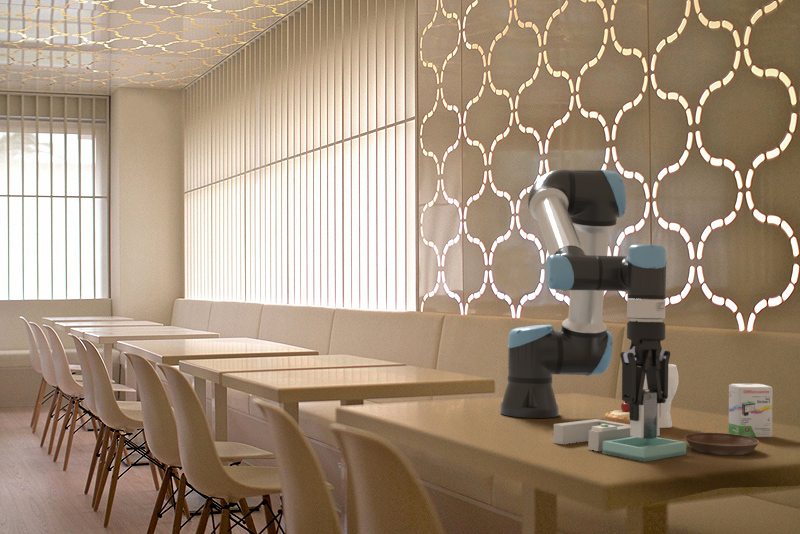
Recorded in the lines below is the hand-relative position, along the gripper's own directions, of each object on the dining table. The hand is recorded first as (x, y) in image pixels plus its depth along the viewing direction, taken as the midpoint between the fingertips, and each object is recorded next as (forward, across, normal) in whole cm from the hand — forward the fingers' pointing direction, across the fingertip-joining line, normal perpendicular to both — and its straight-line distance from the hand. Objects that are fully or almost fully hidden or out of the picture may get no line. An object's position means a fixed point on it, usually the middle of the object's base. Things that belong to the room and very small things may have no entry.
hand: (644, 435), depth 181 cm
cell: (0, 0, 0) cm, 0 cm away
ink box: (+4, +41, +1) cm, 41 cm away
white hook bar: (+4, 0, +13) cm, 14 cm away
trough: (+4, 0, 0) cm, 4 cm away
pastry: (+4, +18, +17) cm, 25 cm away
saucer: (+4, +18, -6) cm, 19 cm away
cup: (+4, +34, +22) cm, 41 cm away
